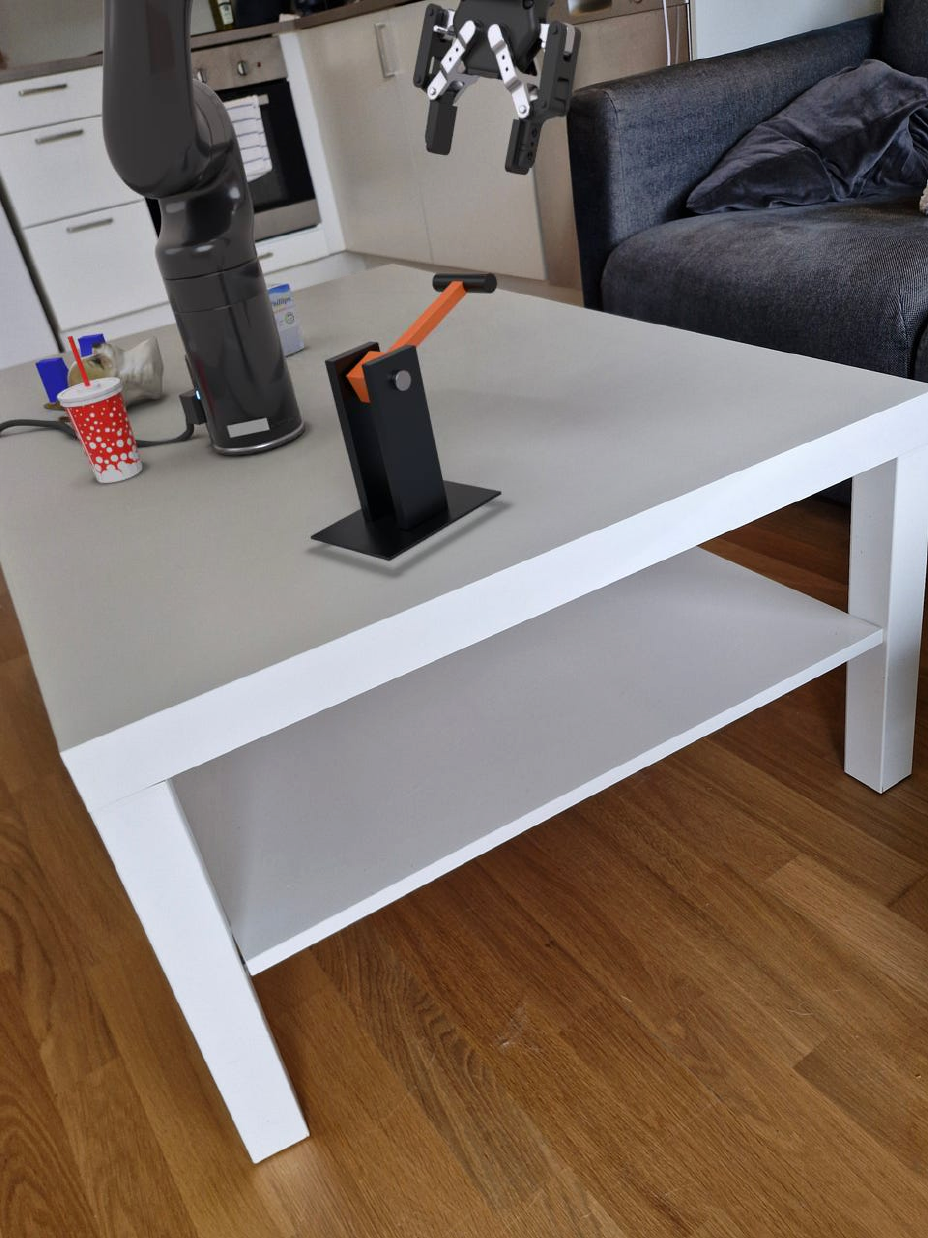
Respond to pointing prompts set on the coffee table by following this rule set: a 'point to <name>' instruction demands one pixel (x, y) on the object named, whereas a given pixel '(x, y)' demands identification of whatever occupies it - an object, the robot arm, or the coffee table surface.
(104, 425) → the beverage cup
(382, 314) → the coffee table surface
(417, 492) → the black lever stand
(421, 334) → the clamp lever
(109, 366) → the ceramic sculpture
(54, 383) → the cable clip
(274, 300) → the medicine box
